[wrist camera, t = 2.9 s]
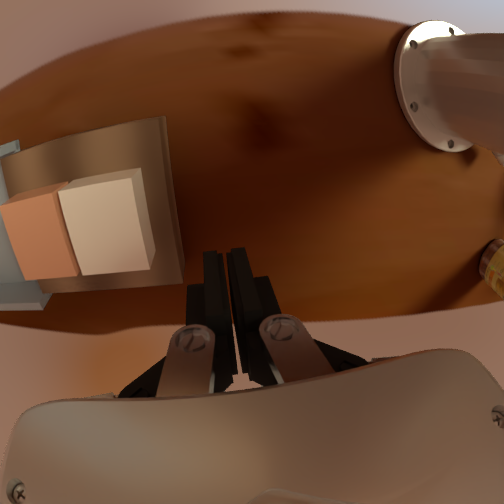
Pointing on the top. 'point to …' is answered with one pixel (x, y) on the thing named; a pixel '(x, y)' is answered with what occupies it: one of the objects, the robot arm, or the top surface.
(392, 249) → the top surface
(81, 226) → the cream tile
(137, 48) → the top surface
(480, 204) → the top surface
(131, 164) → the walnut board
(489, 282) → the sauce bottle
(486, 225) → the top surface
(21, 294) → the tray
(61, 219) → the terracotta tile
